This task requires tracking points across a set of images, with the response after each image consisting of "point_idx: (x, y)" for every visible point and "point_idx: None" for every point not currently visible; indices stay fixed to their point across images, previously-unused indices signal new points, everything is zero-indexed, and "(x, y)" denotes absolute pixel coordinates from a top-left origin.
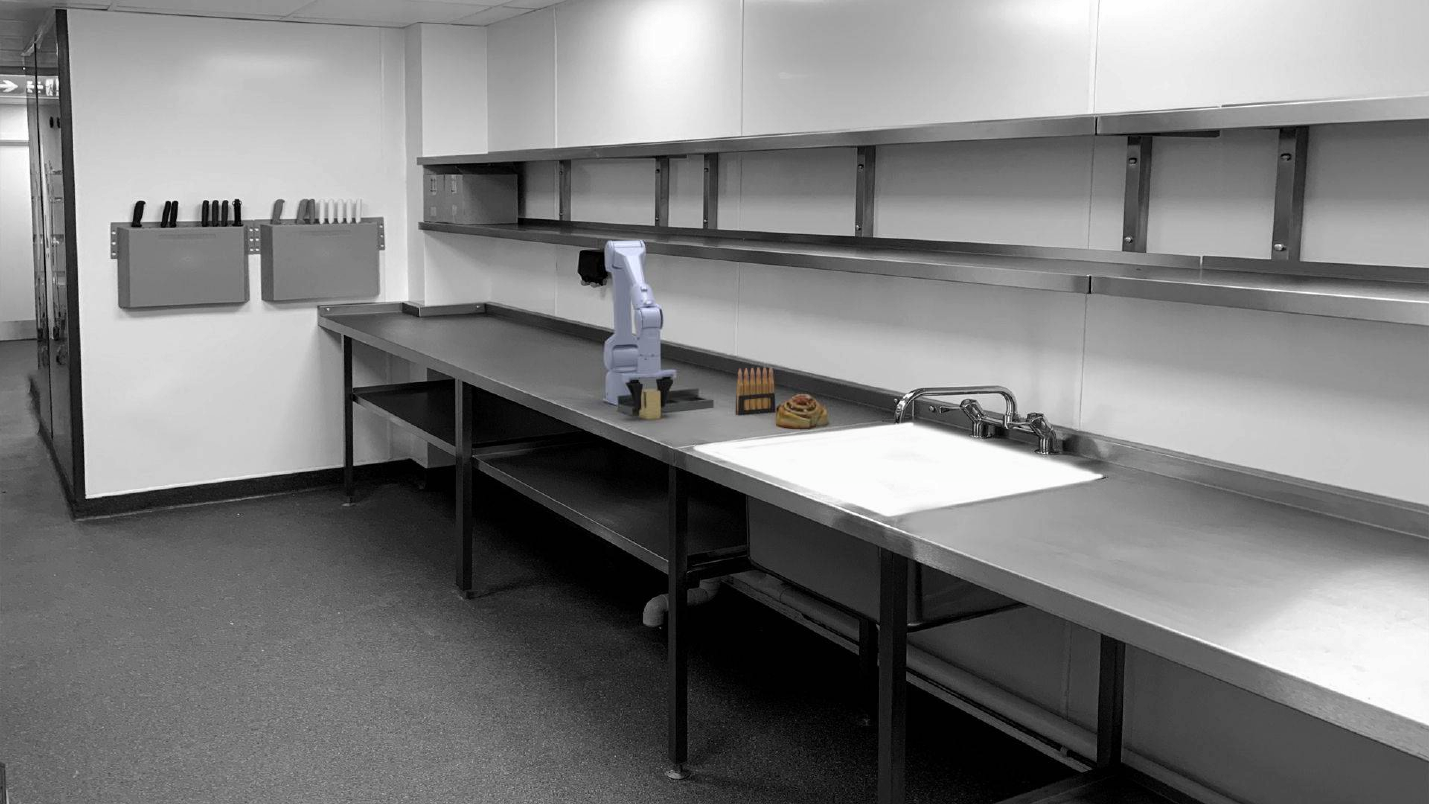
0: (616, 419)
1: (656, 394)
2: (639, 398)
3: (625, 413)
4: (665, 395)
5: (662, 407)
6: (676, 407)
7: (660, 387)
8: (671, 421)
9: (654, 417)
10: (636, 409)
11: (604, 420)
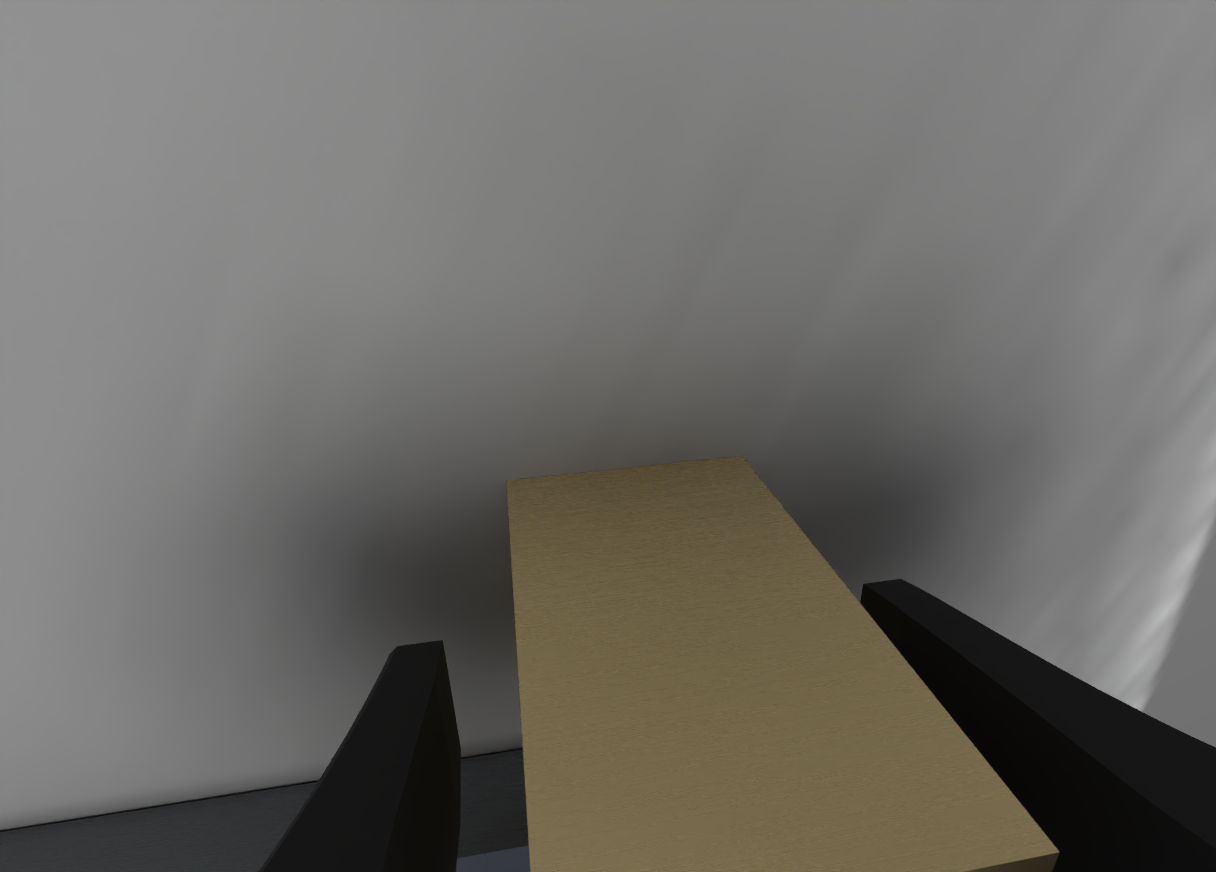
0: (1021, 605)
1: (663, 815)
2: (1082, 707)
3: None
4: (334, 841)
5: None
6: (74, 869)
7: None
8: (456, 100)
9: (616, 479)
10: None
11: (1147, 601)
